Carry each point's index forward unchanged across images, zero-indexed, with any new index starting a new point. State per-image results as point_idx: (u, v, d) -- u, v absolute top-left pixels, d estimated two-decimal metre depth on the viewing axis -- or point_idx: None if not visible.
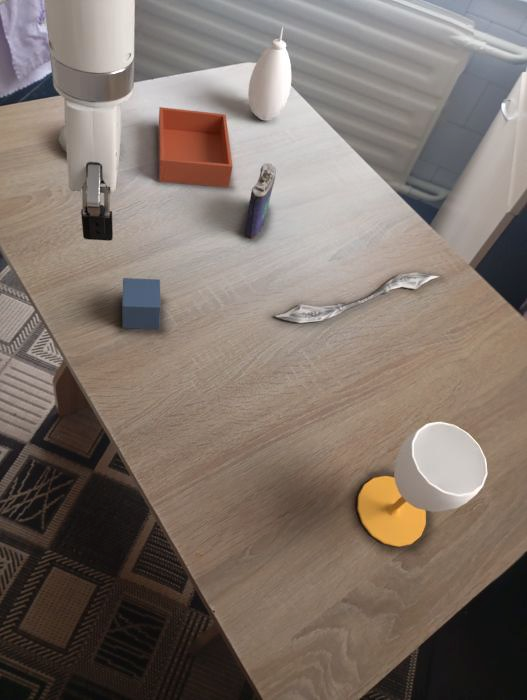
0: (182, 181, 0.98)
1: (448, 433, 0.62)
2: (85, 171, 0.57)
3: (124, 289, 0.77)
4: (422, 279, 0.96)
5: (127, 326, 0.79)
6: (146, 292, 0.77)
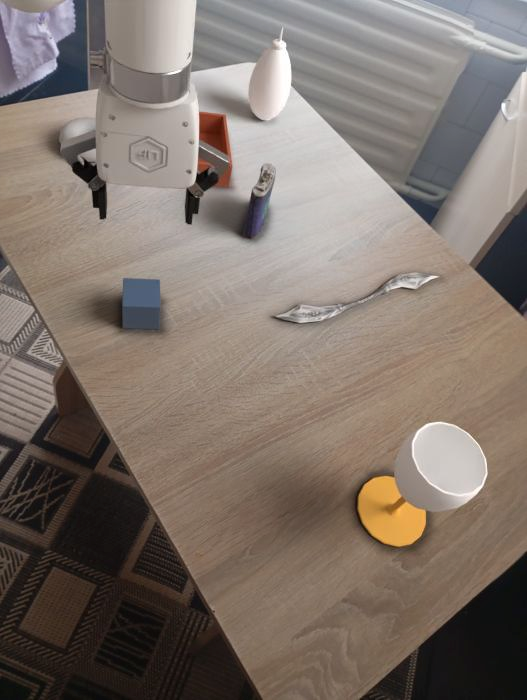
0: None
1: (448, 433, 0.62)
2: (197, 153, 0.59)
3: (124, 289, 0.77)
4: (422, 279, 0.96)
5: (127, 326, 0.79)
6: (146, 292, 0.77)
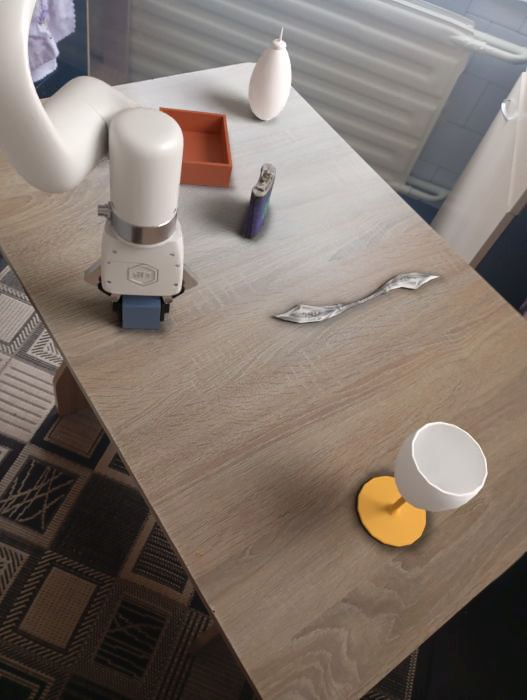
0: (182, 181, 0.98)
1: (448, 433, 0.62)
2: (182, 269, 0.73)
3: None
4: (422, 279, 0.96)
5: (127, 326, 0.79)
6: None
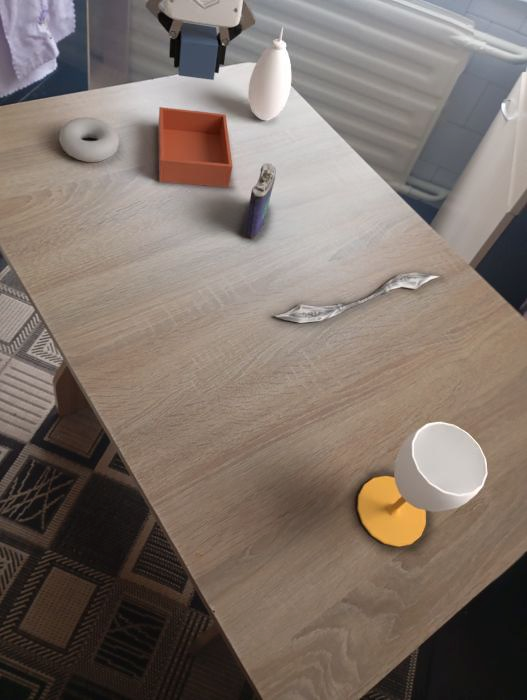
0: (182, 181, 0.98)
1: (448, 433, 0.62)
2: None
3: (182, 29, 0.78)
4: (422, 279, 0.96)
5: (183, 72, 0.80)
6: (203, 34, 0.78)
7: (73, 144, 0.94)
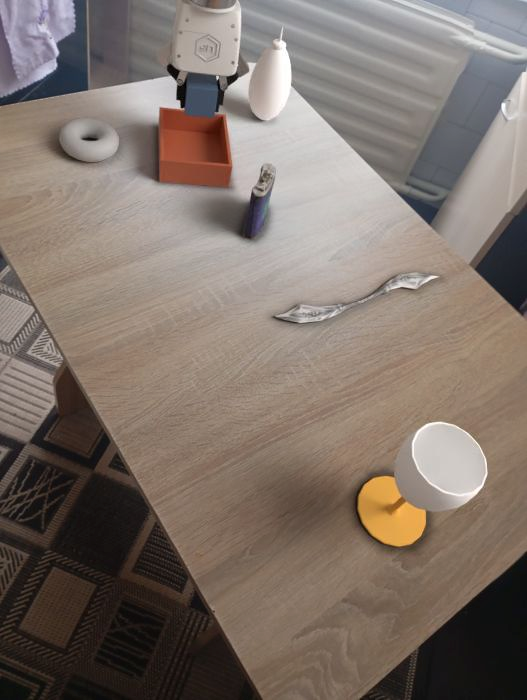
0: (182, 181, 0.98)
1: (448, 433, 0.62)
2: None
3: (187, 76, 0.91)
4: (422, 279, 0.96)
5: (188, 112, 0.93)
6: (205, 80, 0.92)
7: (73, 144, 0.94)
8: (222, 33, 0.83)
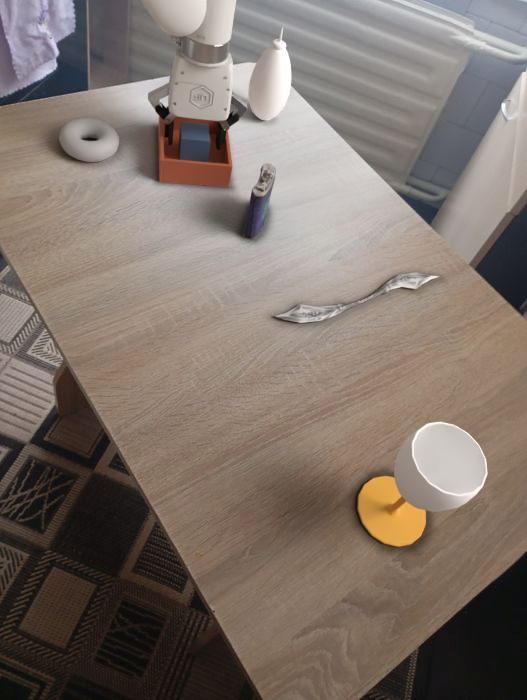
0: (182, 181, 0.98)
1: (448, 433, 0.62)
2: None
3: (181, 128, 0.99)
4: (422, 279, 0.96)
5: None
6: (198, 131, 0.99)
7: (73, 144, 0.94)
8: (215, 84, 0.89)
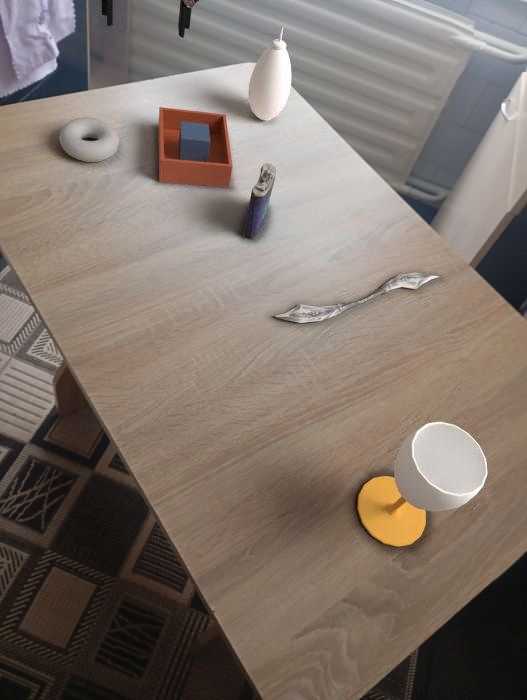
0: (182, 181, 0.98)
1: (448, 433, 0.62)
2: None
3: (181, 128, 0.99)
4: (422, 279, 0.96)
5: None
6: (198, 131, 0.99)
7: (73, 144, 0.94)
8: None
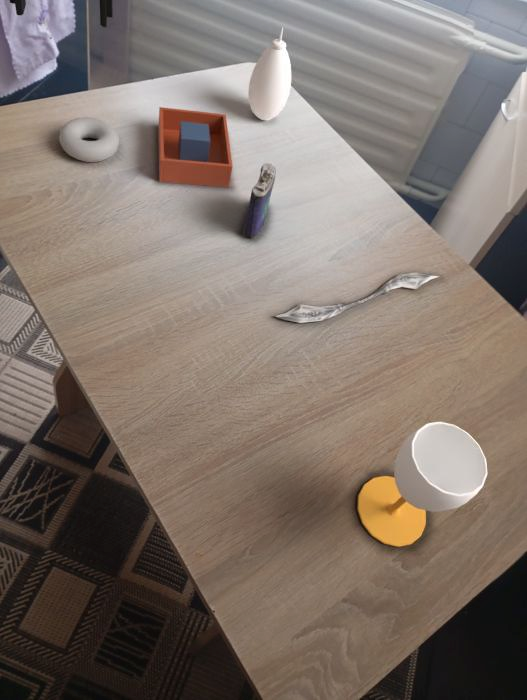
0: (182, 181, 0.98)
1: (448, 433, 0.62)
2: None
3: (181, 128, 0.99)
4: (422, 279, 0.96)
5: None
6: (198, 131, 0.99)
7: (73, 144, 0.94)
8: None
